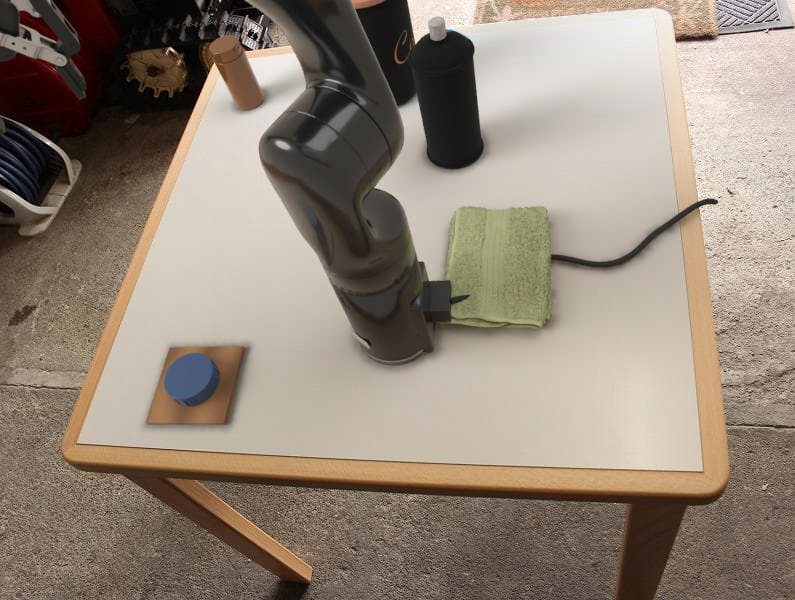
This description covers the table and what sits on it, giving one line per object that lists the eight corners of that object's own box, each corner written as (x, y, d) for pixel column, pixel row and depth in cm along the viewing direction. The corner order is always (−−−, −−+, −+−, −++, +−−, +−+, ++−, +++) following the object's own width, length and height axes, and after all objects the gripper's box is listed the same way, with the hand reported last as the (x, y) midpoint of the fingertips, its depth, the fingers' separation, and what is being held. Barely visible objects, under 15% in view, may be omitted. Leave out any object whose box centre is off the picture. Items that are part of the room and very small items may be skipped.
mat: (245, 348, 75) (243, 345, 75) (226, 424, 70) (223, 422, 69) (171, 349, 77) (169, 347, 77) (147, 424, 72) (145, 422, 72)
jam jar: (266, 89, 104) (241, 32, 95) (261, 108, 102) (235, 51, 93) (239, 92, 105) (212, 36, 96) (233, 112, 102) (205, 56, 94)
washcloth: (437, 332, 71) (433, 317, 69) (452, 216, 81) (449, 200, 78) (552, 336, 68) (553, 321, 66) (554, 215, 78) (555, 198, 75)
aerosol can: (475, 172, 84) (460, 44, 68) (419, 166, 87) (392, 42, 71) (490, 131, 88) (479, 0, 72) (436, 127, 91) (413, 0, 75)
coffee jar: (416, 111, 94) (393, 0, 79) (350, 112, 97) (317, 5, 82) (427, 66, 99) (408, -45, 85) (365, 69, 102) (336, -39, 87)
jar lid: (185, 356, 76) (177, 349, 74) (228, 364, 74) (220, 356, 72) (163, 401, 73) (154, 394, 71) (207, 410, 71) (199, 403, 69)
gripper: (-188, 4, 46) (-24, 163, 59) (-6, -70, 47) (114, 101, 60) (-176, -35, 50) (-26, 121, 63) (-10, -102, 51) (103, 64, 64)
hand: (42, 111), depth 62 cm, fingers open, 8 cm apart
